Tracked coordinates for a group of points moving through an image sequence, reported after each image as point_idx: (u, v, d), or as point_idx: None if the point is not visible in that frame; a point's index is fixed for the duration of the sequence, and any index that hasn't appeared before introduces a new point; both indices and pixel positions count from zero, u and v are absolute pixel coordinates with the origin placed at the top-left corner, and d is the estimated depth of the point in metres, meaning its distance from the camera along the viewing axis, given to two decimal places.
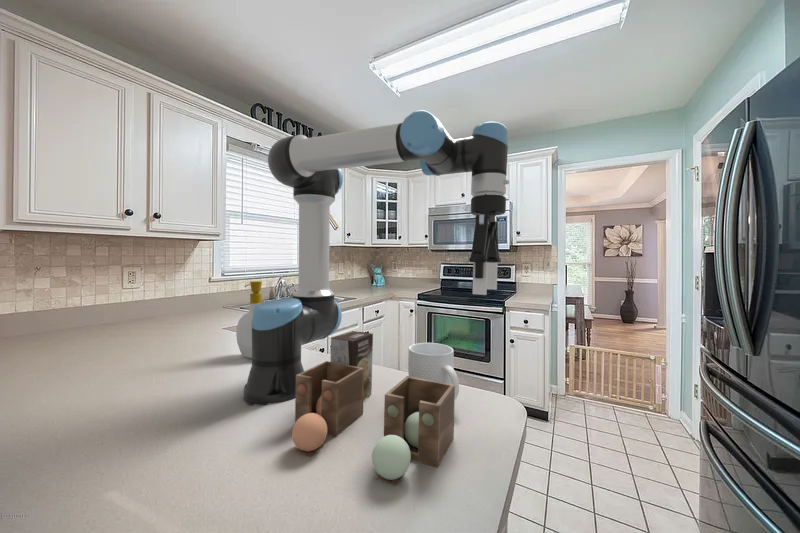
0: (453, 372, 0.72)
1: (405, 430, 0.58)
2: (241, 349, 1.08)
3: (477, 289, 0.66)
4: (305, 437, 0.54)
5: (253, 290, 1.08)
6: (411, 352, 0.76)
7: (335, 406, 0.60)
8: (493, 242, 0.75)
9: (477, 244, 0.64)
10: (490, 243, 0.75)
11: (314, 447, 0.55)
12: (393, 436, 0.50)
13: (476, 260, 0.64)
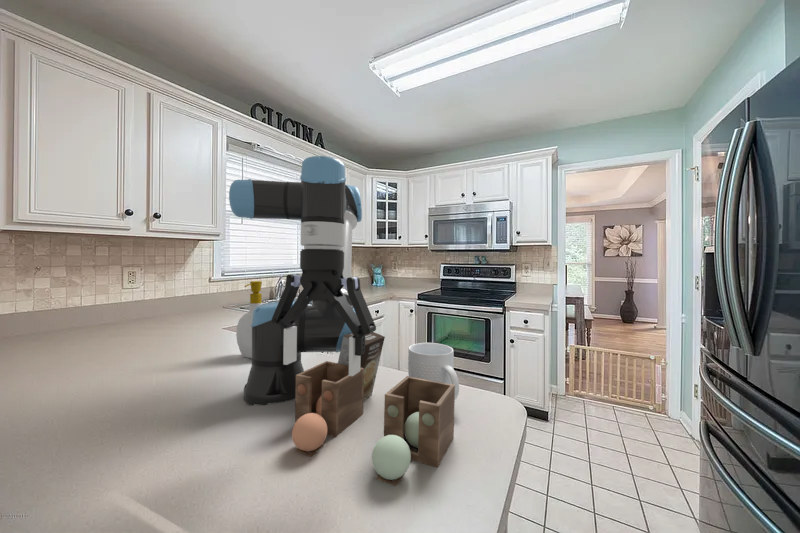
0: (453, 372, 0.72)
1: (405, 430, 0.58)
2: (241, 349, 1.08)
3: None
4: (305, 437, 0.54)
5: (253, 290, 1.08)
6: (411, 352, 0.76)
7: (335, 406, 0.60)
8: None
9: None
10: None
11: (314, 447, 0.55)
12: (393, 436, 0.50)
13: None
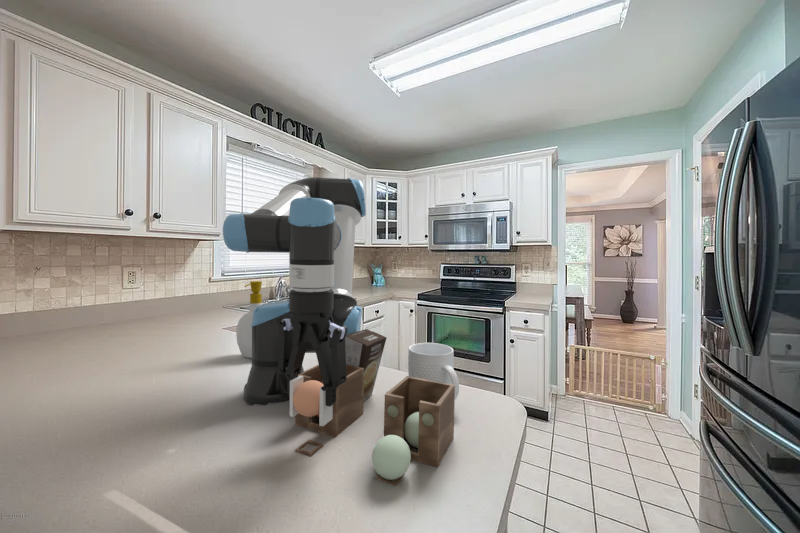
0: (453, 372, 0.72)
1: (405, 430, 0.58)
2: (241, 349, 1.08)
3: None
4: (306, 402, 0.54)
5: (253, 290, 1.08)
6: (411, 352, 0.76)
7: (335, 406, 0.60)
8: None
9: None
10: None
11: (315, 412, 0.55)
12: (393, 436, 0.50)
13: None
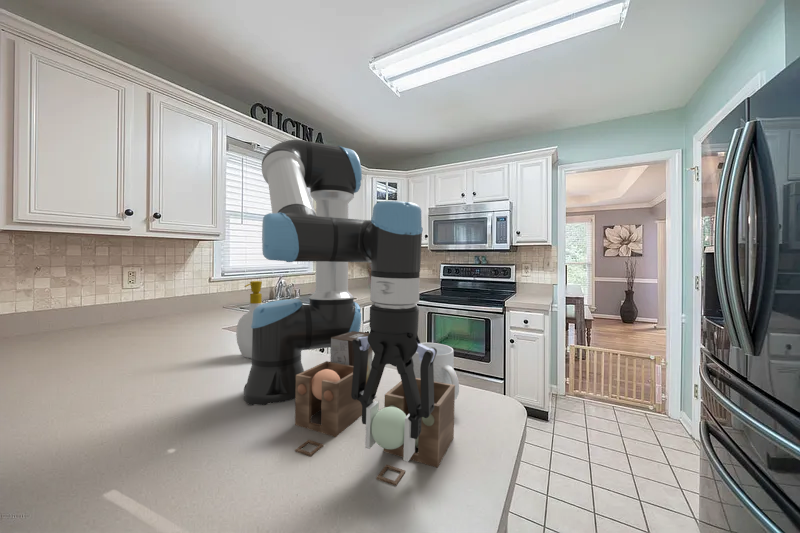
0: (453, 372, 0.72)
1: None
2: (241, 349, 1.08)
3: None
4: None
5: (253, 290, 1.08)
6: None
7: (335, 406, 0.60)
8: None
9: None
10: None
11: None
12: (392, 408, 0.51)
13: None
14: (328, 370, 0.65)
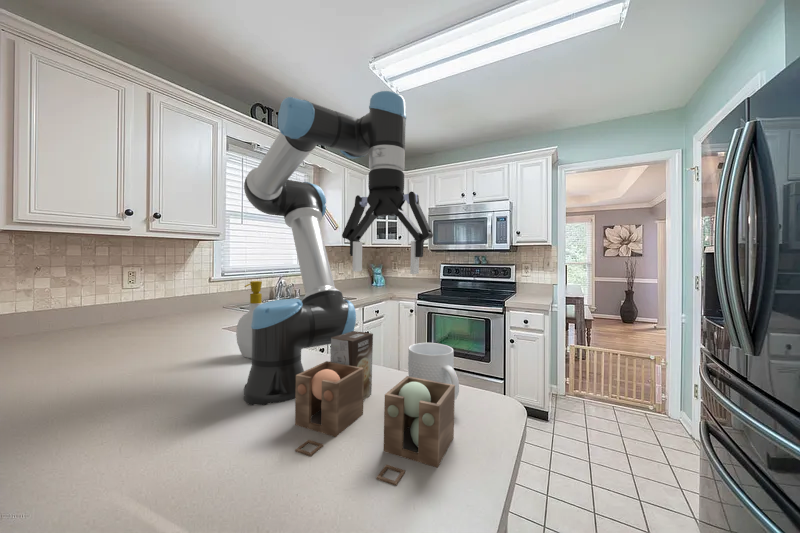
0: (453, 372, 0.72)
1: (413, 428, 0.57)
2: (241, 349, 1.08)
3: None
4: None
5: (253, 290, 1.08)
6: (411, 352, 0.76)
7: (335, 406, 0.60)
8: None
9: None
10: None
11: None
12: None
13: None
14: (328, 370, 0.65)
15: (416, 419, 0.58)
